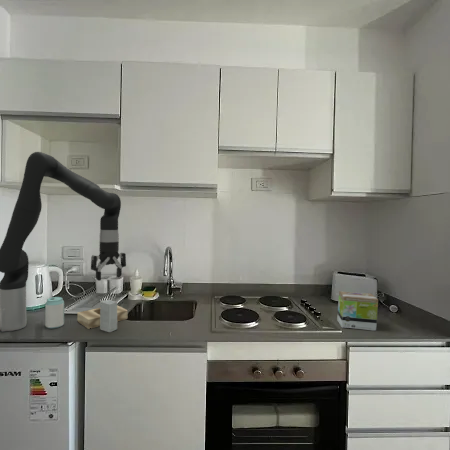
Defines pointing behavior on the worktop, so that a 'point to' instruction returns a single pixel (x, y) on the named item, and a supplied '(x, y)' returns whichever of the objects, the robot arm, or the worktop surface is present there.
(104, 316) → the skincare box
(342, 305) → the tea box
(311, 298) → the worktop surface
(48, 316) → the can
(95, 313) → the socket block
